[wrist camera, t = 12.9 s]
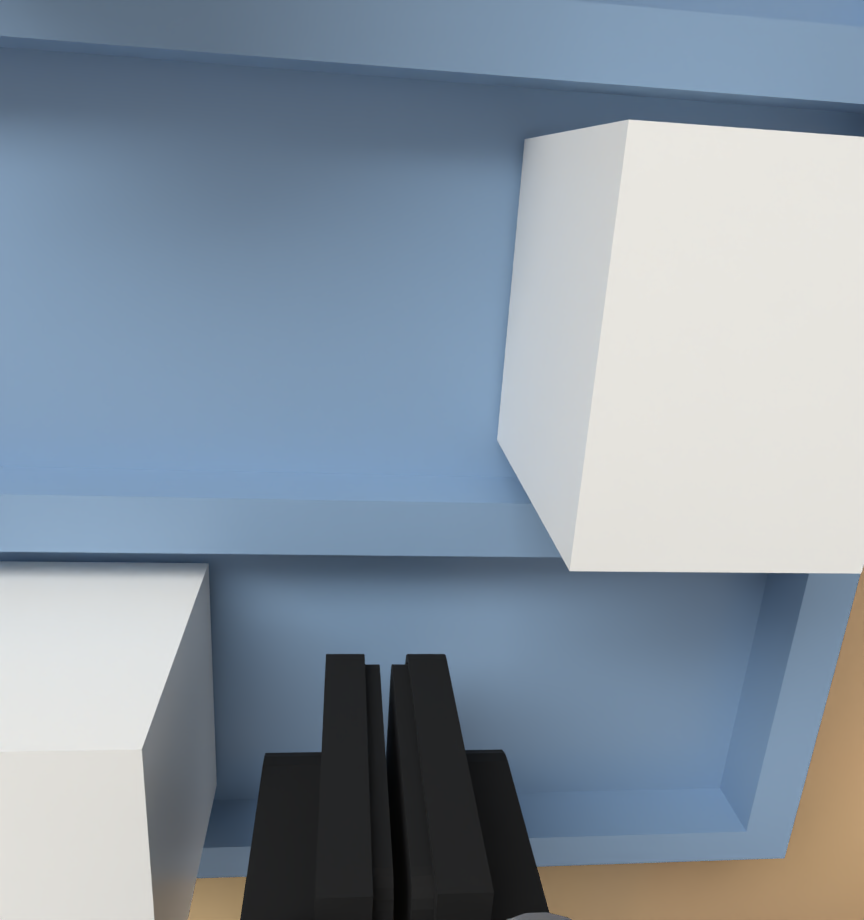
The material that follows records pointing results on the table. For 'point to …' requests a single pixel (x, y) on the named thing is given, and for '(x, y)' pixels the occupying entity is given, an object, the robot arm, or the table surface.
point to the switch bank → (385, 382)
